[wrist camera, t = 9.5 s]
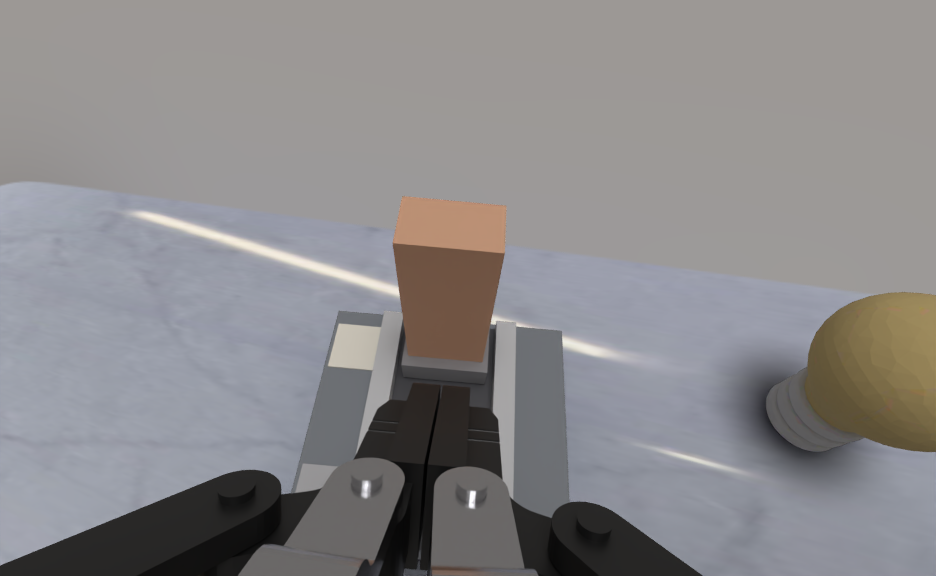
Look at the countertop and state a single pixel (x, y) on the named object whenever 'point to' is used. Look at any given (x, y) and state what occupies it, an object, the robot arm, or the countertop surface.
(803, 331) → the countertop surface
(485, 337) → the lever
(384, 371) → the switch panel
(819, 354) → the light bulb
